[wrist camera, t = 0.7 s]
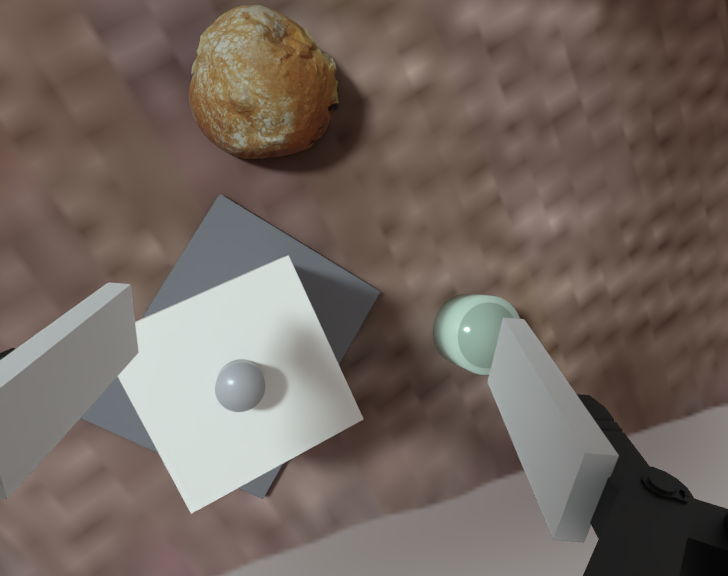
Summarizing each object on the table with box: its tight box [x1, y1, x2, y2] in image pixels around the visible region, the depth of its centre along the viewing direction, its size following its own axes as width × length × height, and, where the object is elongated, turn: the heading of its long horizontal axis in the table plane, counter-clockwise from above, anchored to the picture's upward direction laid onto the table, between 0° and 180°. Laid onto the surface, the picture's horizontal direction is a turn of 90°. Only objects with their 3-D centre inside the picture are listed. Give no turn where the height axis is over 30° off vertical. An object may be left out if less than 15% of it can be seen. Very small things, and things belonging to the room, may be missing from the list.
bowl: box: [433, 294, 520, 375], centre depth 36 cm, size 6×6×4 cm
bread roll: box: [189, 5, 339, 159], centre depth 31 cm, size 10×10×8 cm
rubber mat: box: [81, 194, 380, 499], centre depth 33 cm, size 18×14×1 cm
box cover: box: [118, 255, 363, 513], centre depth 28 cm, size 10×10×11 cm
